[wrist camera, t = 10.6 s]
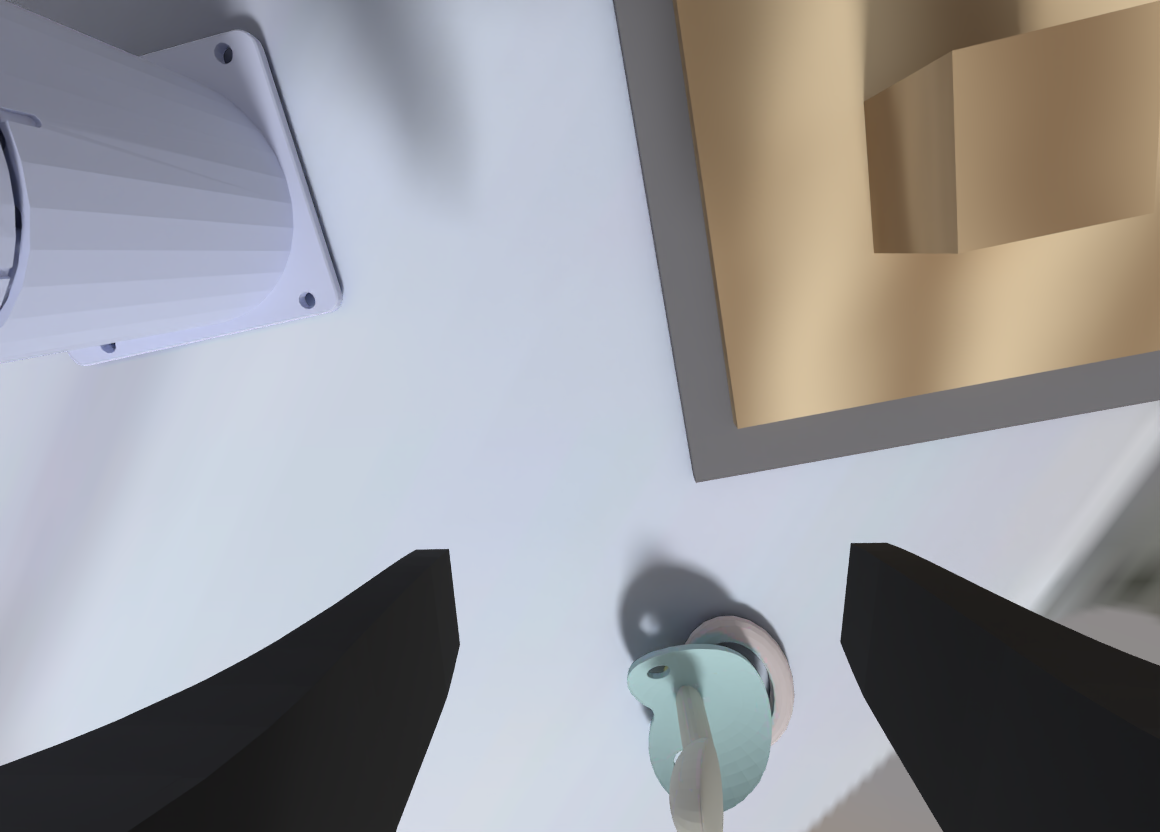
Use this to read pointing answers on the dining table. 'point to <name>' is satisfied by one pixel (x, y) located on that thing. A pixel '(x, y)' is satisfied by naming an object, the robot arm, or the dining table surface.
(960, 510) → the dining table surface
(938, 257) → the oak lid
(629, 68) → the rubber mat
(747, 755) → the pacifier
